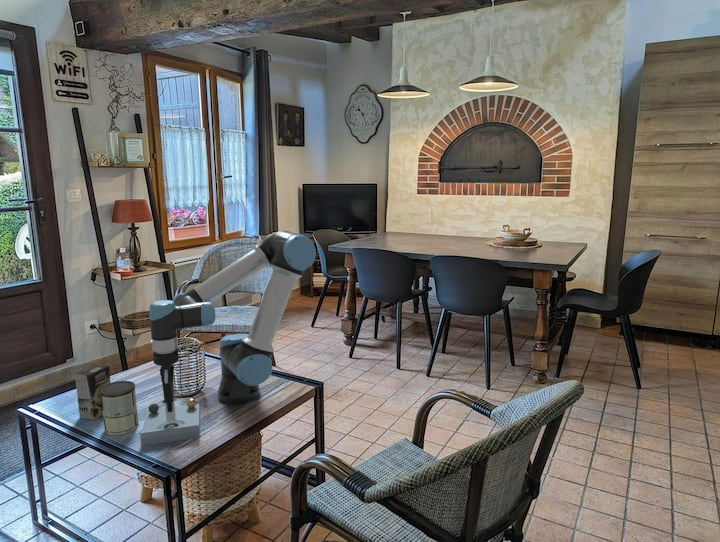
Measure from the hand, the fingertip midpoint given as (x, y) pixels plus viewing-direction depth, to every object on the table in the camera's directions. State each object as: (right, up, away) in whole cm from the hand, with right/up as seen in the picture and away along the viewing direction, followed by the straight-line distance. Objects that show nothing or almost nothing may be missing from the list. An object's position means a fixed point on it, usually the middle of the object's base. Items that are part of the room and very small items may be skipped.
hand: (171, 419), depth 164 cm
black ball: (-8, +2, +7) cm, 11 cm away
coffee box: (-30, -2, +12) cm, 33 cm away
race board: (0, -3, +3) cm, 4 cm away
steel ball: (+1, -3, -3) cm, 4 cm away
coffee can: (-17, -4, +3) cm, 18 cm away
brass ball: (+3, +2, +10) cm, 11 cm away
